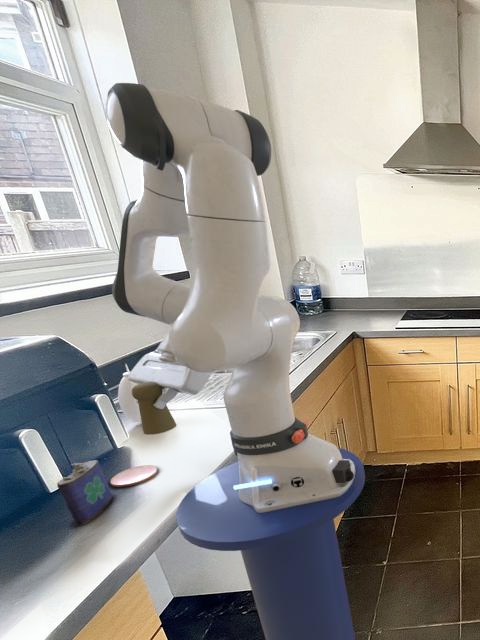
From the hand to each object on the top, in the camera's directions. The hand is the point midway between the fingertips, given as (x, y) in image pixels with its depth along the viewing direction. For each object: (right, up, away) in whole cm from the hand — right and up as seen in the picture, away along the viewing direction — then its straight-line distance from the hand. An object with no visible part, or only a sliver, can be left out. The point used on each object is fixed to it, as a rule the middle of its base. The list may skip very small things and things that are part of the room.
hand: (149, 406), depth 92 cm
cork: (0, -5, +3) cm, 6 cm away
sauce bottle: (-25, -6, +27) cm, 37 cm away
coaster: (-4, -16, +1) cm, 17 cm away
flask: (-2, -20, -10) cm, 23 cm away
